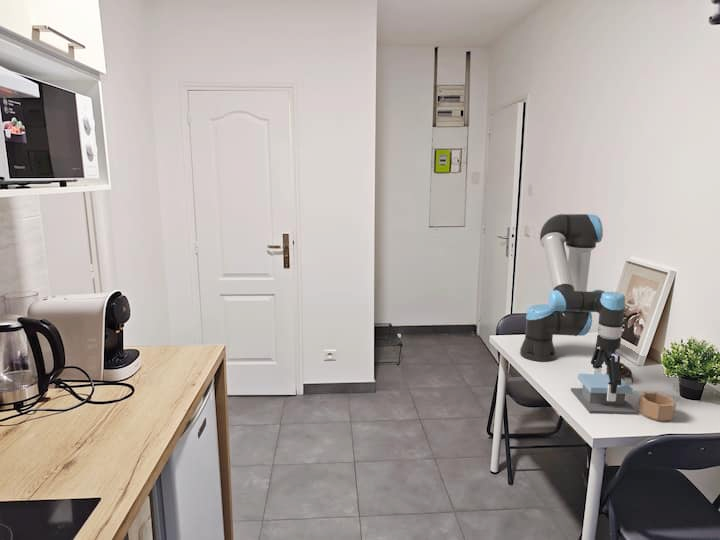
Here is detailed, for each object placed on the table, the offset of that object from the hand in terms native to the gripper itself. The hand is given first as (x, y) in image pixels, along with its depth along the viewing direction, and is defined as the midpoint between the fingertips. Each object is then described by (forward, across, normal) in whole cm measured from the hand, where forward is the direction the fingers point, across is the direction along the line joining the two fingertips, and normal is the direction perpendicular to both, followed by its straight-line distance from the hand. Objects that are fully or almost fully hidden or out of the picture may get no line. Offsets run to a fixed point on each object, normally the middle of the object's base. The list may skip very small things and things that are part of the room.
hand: (603, 392), depth 175 cm
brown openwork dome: (+4, -20, +15) cm, 26 cm away
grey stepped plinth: (+4, 0, 0) cm, 4 cm away
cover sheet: (-3, 0, 0) cm, 3 cm away
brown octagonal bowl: (+3, +9, +14) cm, 17 cm away
